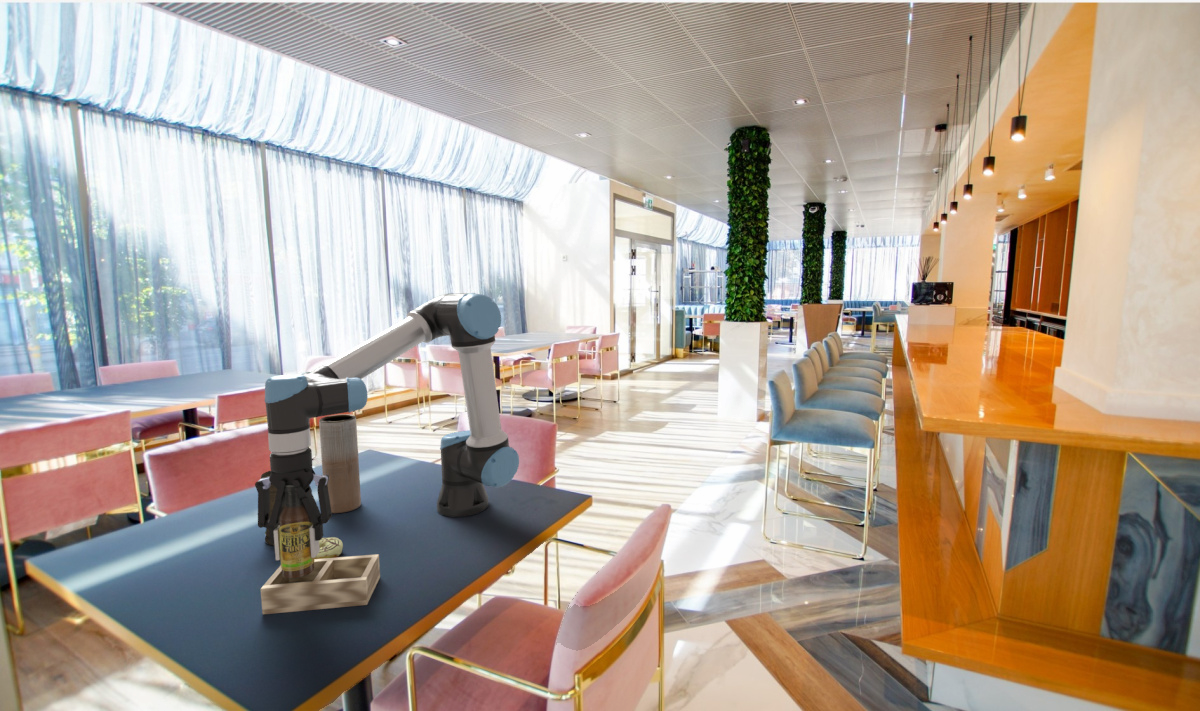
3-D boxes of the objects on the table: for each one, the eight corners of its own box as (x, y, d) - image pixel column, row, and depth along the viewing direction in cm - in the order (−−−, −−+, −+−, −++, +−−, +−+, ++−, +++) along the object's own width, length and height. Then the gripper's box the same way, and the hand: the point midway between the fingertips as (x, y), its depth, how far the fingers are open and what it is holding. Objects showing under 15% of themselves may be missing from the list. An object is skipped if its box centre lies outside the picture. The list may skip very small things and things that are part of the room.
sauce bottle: (279, 583, 108) (272, 490, 106) (283, 569, 114) (276, 480, 112) (315, 576, 111) (308, 485, 109) (317, 563, 117) (311, 475, 114)
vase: (364, 508, 159) (358, 418, 156) (327, 516, 154) (321, 423, 151) (357, 498, 168) (352, 412, 164) (322, 505, 162) (316, 416, 159)
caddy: (380, 577, 121) (378, 554, 120) (367, 604, 110) (365, 579, 109) (285, 585, 118) (283, 561, 117) (262, 614, 107) (260, 588, 106)
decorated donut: (350, 557, 130) (349, 543, 130) (303, 574, 123) (301, 559, 122) (334, 544, 137) (333, 530, 137) (288, 559, 130) (287, 544, 129)
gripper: (345, 442, 115) (351, 544, 117) (248, 446, 112) (257, 550, 114) (334, 452, 107) (340, 560, 110) (230, 457, 104) (239, 568, 107)
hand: (298, 555), depth 112 cm, fingers closed on sauce bottle, 6 cm apart
